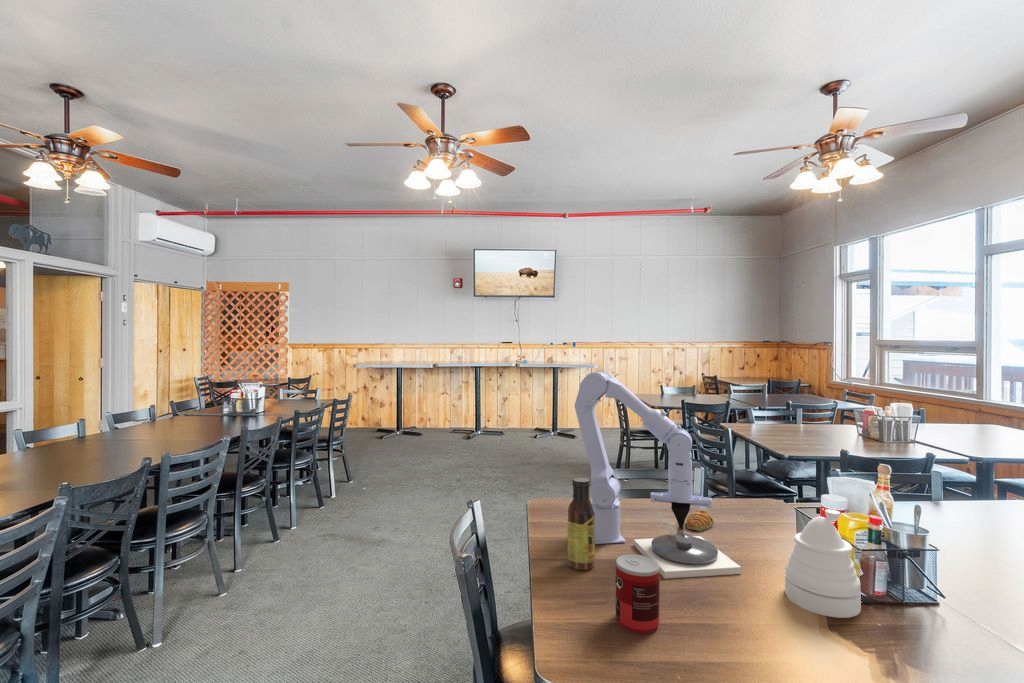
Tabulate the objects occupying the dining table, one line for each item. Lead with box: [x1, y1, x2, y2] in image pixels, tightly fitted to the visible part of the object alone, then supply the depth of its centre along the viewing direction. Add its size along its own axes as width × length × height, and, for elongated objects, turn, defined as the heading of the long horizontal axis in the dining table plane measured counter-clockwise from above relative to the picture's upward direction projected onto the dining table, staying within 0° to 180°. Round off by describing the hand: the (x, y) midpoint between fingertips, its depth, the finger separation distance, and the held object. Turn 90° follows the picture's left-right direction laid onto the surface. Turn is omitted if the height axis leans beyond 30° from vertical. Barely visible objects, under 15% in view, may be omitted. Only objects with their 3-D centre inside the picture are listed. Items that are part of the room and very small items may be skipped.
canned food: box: [615, 553, 661, 635], centre depth 91 cm, size 8×8×11 cm
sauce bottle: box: [567, 477, 596, 571], centre depth 114 cm, size 7×6×20 cm
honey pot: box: [784, 508, 862, 619], centre depth 99 cm, size 13×13×18 cm
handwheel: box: [651, 522, 719, 565], centre depth 118 cm, size 15×15×4 cm
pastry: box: [686, 509, 715, 532], centre depth 139 cm, size 9×7×4 cm
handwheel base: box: [633, 535, 742, 579], centre depth 118 cm, size 18×18×2 cm
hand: (681, 532), depth 123 cm, fingers closed, pressing on handwheel
